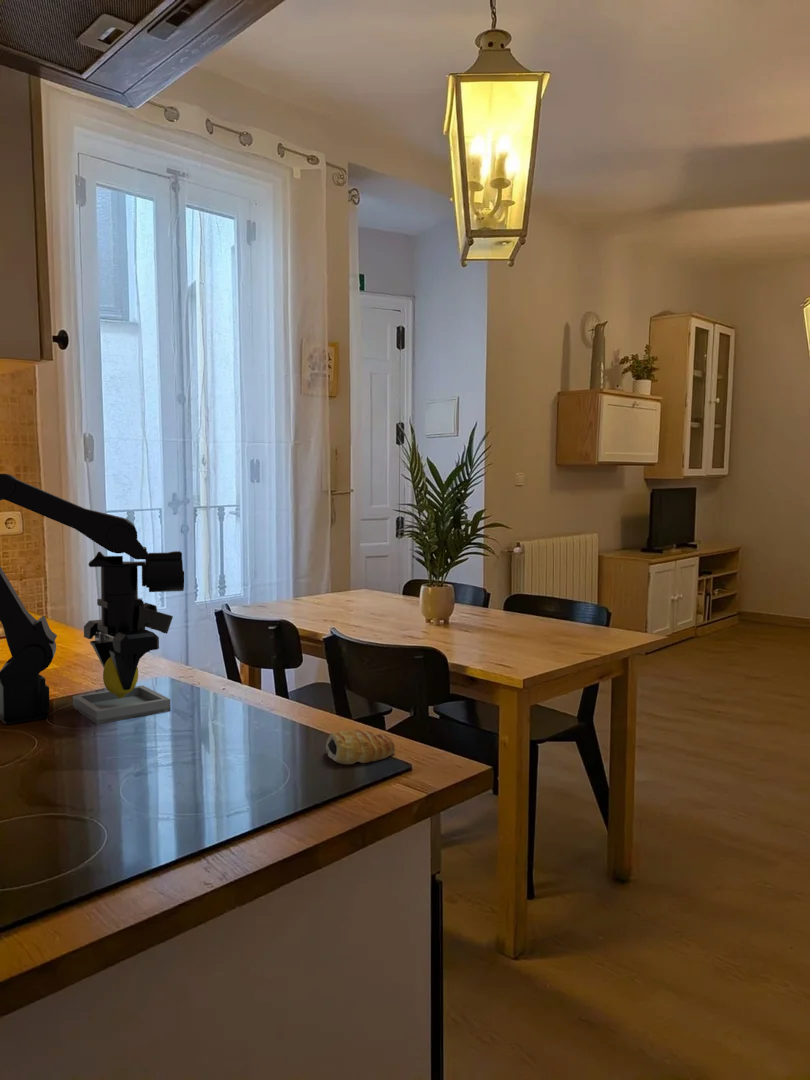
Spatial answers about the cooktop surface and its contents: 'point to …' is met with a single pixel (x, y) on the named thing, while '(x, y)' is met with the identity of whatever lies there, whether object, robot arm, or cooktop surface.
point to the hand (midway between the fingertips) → (120, 686)
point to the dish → (121, 705)
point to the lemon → (115, 680)
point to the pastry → (358, 746)
